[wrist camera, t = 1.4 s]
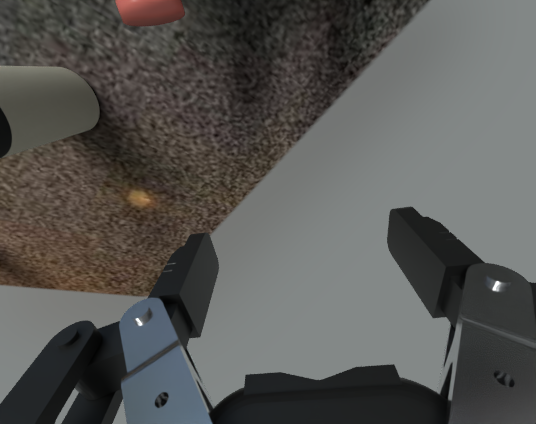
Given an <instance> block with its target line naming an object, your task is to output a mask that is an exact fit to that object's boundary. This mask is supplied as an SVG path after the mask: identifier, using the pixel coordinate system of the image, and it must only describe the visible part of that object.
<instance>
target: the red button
mask: <svg viewBox="0 0 536 424" xmlns="http://www.w3.org/2000/svg"><path fill="white" fill-rule="evenodd" d="M116 4H117V7H118V10H119V12H120V15H121V18H122V20H123V23H125V24H127V25H131V26H154V25H161V24H166V23H170V22H173V21H176V20H178V19H180V18H182V17H183V16H184V15H185V12H184V8H183V4H182V1H181V0H116Z"/></svg>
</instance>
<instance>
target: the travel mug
mask: <svg viewBox="0 0 536 424" xmlns="http://www.w3.org/2000/svg"><path fill="white" fill-rule="evenodd" d="M99 114H100V110H99V104H98V100H97V98H96V96H95V94H94V92H93V90H92V89H91V87H90V86H89V85H88V84H87V82H86V81H85V80H84V79H82V78H81V77H80V76H79V75H77V74H76V73H74V72H73V71H71V70H68V69H66V68H62V67H36V66H0V158H3V157H6V156H9V155H13V154H16V153H19V152H22V151H25V150H28V149H31V148H35V147H38V146H41V145H44V144H47V143H50V142H54V141H57V140H60V139H63V138H66V137H69V136H72V135H76V134H79V133H82V132H85V131H88V130H90V129H92V128H93V127H94V126H95V125H96V124H97V122H98V119H99Z"/></svg>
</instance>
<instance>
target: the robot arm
mask: <svg viewBox="0 0 536 424" xmlns="http://www.w3.org/2000/svg"><path fill="white" fill-rule="evenodd" d="M387 243H388V248H389V251H390V253H391V254H392V256H393V258H394V259H395V261H396V262H397V264H398V265H399V267H400V268H401V270H402V271H403V273H404V274H405V276H406V277H407V279H408V281H409V282H410V284H411V285H412V286H413V288H414V290H415V291H416V293H417V294H418V296H419V298H420V299H421V301H422V302H423V303H424V305H425V307H426V308H427V310H428V311H429V313H430V314H431V316H432V317H433V318H439V317H447V318H448V320H449V321H450V327H449V331H448V336H447V341H446V347H445V353H444V358H443V364H442V370H441V375H440V380H439V384H438V387H437V392H435V391H433V390H431V389H429V388H428V387H426V386H424V385H421V384H419V383H417V382H414V381H411V380H408V379H405V378H400V377H399V375H398V373H397V370H396V368H395V366H394V365H380V366H365V367H355V368H352V369H350V370H347V371H344V372H342V373H339V374H336V375H334V376H331V377H328V378H325V379H323V380H314V379H309V378H304V377H299V376H295V375H290V374H286V373H281V372H279V373H265V374H250V375H246V377H245V387H244V388H241V389H239V390H237V391H235V392H233V393H232V394H230V395H229V396H227V397H226V398H224V399H223V400H222V401H221V402H220V403H219V404H217V405H216V406H214V404H213V402H212V400H211V398H210V396H209V394H208V392H207V390H206V388H205V385H204V383H203V381H202V379H201V377H200V374H199V372H198V370H197V368H196V365H195V363H194V361H193V359H192V357H191V355H190V352H189V350H188V348H187V344H188V341H189V338H196V337H200V336H201V332H202V329H203V325H204V322H205V318H206V314H207V311H208V307H209V303H210V300H211V296H212V293H213V289H214V285H215V282H216V278H217V274H218V269H219V264H218V258H217V255H216V253H215V250H214V247H213V244H212V241H211V238H210V235H209V234H208V233H199V234H191V235H190V236H189V238H188V240H187V242H186V244H185V245H184V246H183V247H180V248H179V249H177V250H176V251H175V252H174V253H173V254H172V255H171V257H170V259H169V261H168V262H167V265H166V266H165V268H164V270H163V272H162V273H161V275H160V277H159V279H158V280H157V282H156V284H155V286H154V287H153V289H152V291H151V293H150V295H149V296H148V298H147V299H144V300H141V301H139V302H137V303H136V304H134V305H133V306H131V307H130V308H129V309H128V310H127V311H126V312H125V313H124V315H123V316H122V318H121V320H120V321H118V322H116V323H113V324H110V325H108V326H105V327H102V328H99V329H97V328H96V327H95V326H94V324H93V323H92V322H90V321H80V322H76V323H74V324H72V325H70V326H68V327H66V328H65V329H63V330H62V331H60V332H59V333H58V334H57V335H55V336H54V337H53V338H52V339H51V340H50V342H49V343H48V344H47V345H46V347H45V348H44V349H43V350H42V352H41V353H40V354H39V355H38V357H37V358H36V359H35V360H34V362H33V363H32V364H31V366H30V367H29V368H28V369H27V371H26V372H25V373H24V374H23V376H22V377H21V378H20V380H19V381H18V382H17V383H16V385H15V386H14V387H13V388H12V390H11V391H10V392H9V394H8V395H7V396H6V397H5V399H4V400H3V401H2V403H1V404H0V424H55V421H56V419H57V417H58V415H59V413H60V412H61V410H62V408H63V407H64V405H65V403H66V401H67V400H68V398H69V396H70V395H71V393H72V391H73V390H74V388H75V389H76V390H77V391H78V392H79V394H78V395H77V397H76V399H75V401H74V402H73V404H72V406H71V408H70V409H69V411H68V413H67V415H66V417H65V419H64V420H63V422H62V424H112V423H113V421H114V418H115V416H116V414H117V411H118V409H119V406H120V404H121V402H122V399H123V402H124V408H125V415H126V421H127V424H536V283H531V282H528V281H527V280H526V279H525V278H524V277H523V276H521V275H520V274H518V273H517V272H515V271H513V270H511V269H508V268H506V267H503V266H499V265H495V264H489V263H484V262H483V261H482V260H481V259H480V258H479V257H478V256H477V255H476V254H474V253H473V252H472V251H471V250H470V249H469V248H468V247H467V246H465V245H464V244H463V243H462V242H461V241H460V240H459V239H457V238H456V237H455V236H454V235H453V234H452V233H451V232H450V233H449V230H448V229H446V228H445V227H444V226H443V225H442V224H441V223H440V222H437V221H435V220H433V219H431V218H429V217H422V216H421V215H420V214H419V213H418V212H417V211H416V210H415V209H414V208H413V207H404V208H397V209H392V210H391V211H390V215H389V227H388V237H387Z"/></svg>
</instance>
